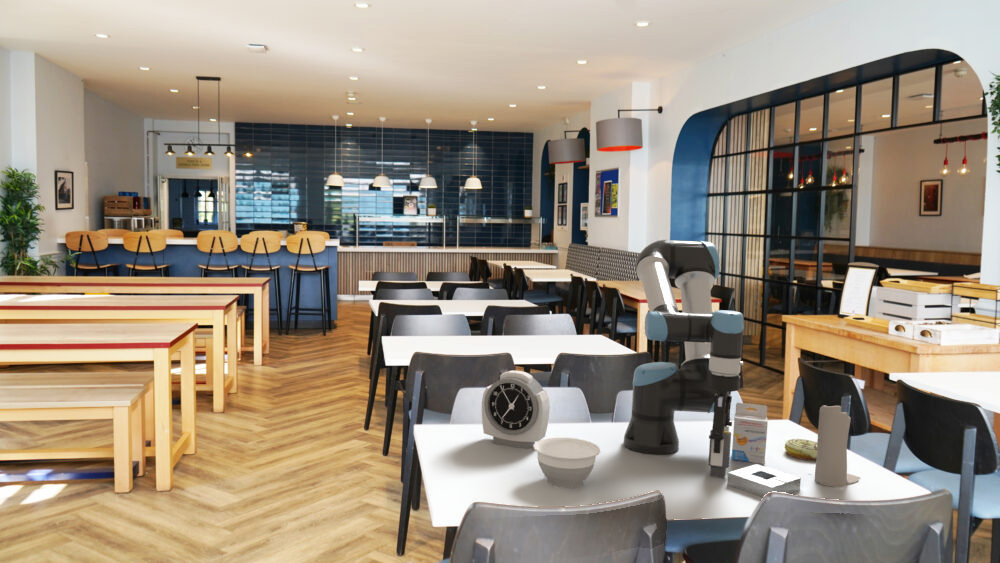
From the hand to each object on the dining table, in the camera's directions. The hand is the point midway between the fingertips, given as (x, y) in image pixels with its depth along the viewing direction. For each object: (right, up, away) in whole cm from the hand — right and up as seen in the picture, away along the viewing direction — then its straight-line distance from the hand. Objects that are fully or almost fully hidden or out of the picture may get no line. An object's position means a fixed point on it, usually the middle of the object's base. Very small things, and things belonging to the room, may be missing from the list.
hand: (719, 457), depth 191 cm
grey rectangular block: (0, -4, 0) cm, 4 cm away
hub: (+9, -5, -7) cm, 12 cm away
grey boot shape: (+30, -6, 0) cm, 30 cm away
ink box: (+12, -4, +14) cm, 19 cm away
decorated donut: (+29, -4, +20) cm, 36 cm away
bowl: (-39, -4, -9) cm, 40 cm away
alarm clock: (-51, -1, +21) cm, 55 cm away
